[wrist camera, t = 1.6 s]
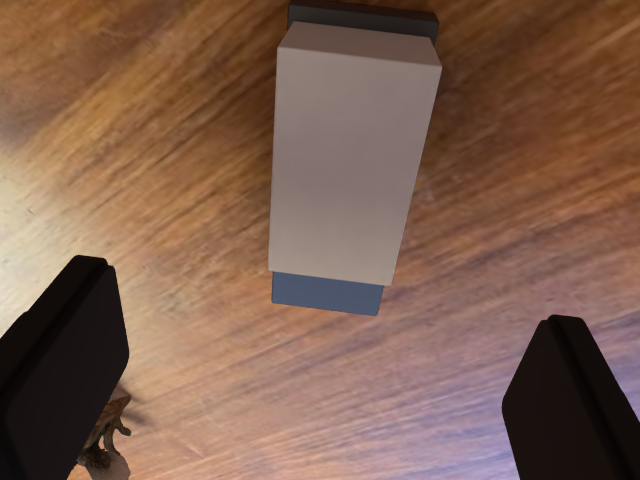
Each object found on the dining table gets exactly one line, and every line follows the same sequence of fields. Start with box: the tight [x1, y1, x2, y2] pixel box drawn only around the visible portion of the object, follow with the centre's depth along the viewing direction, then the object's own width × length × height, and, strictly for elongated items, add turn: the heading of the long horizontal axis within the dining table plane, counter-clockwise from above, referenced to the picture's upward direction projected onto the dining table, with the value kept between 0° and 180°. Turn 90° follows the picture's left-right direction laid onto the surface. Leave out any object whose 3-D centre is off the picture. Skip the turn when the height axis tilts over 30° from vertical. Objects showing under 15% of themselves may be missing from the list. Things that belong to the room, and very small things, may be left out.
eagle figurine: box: [72, 396, 131, 480], centre depth 30 cm, size 8×7×9 cm
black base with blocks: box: [268, 0, 442, 316], centre depth 19 cm, size 12×5×5 cm, turn 175°
